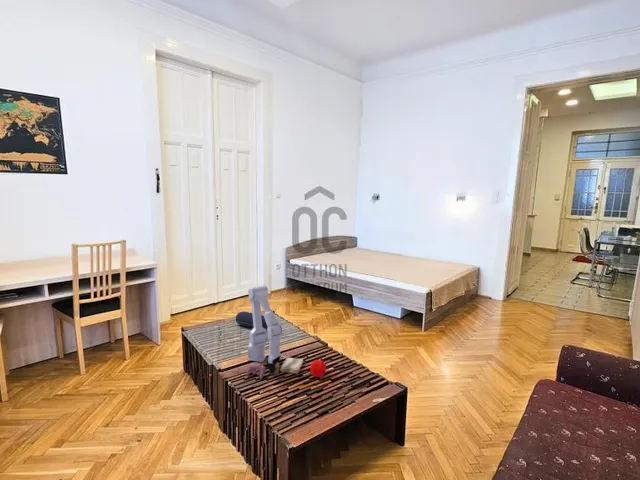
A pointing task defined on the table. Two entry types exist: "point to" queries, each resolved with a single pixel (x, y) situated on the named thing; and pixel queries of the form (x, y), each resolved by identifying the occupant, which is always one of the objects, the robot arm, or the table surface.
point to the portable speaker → (248, 319)
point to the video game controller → (258, 367)
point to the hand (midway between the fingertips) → (274, 369)
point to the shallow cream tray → (292, 365)
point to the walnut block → (275, 369)
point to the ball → (318, 368)
